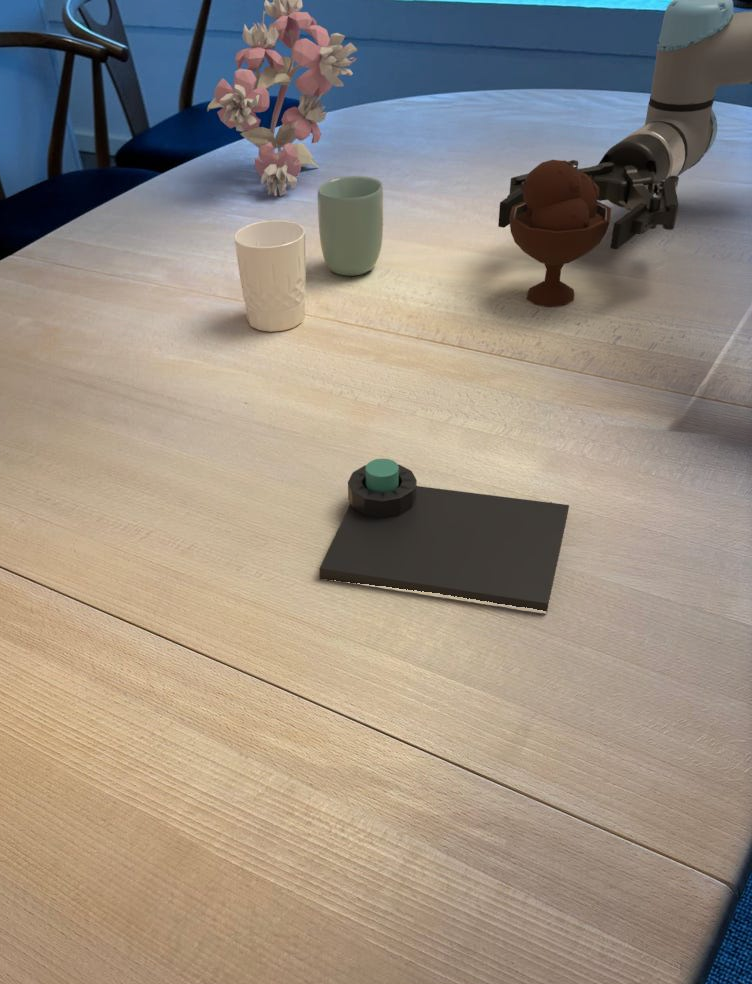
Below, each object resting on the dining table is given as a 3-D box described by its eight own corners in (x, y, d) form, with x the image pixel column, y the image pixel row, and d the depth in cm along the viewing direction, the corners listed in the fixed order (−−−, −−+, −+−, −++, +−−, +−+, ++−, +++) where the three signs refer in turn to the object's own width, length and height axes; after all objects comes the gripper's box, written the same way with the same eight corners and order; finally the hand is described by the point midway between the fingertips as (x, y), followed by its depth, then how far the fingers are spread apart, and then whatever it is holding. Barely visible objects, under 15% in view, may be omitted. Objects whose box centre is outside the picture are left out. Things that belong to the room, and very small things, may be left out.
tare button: (401, 477, 84) (402, 460, 83) (394, 495, 83) (394, 478, 81) (370, 473, 85) (370, 456, 84) (362, 491, 83) (361, 474, 82)
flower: (163, 174, 151) (182, 15, 129) (256, 117, 161) (288, -40, 139) (259, 251, 148) (296, 101, 126) (348, 188, 158) (396, 39, 136)
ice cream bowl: (580, 324, 108) (601, 181, 98) (486, 306, 113) (496, 169, 103) (613, 286, 114) (635, 148, 104) (522, 271, 119) (535, 138, 109)
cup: (312, 279, 122) (308, 196, 115) (332, 255, 127) (329, 174, 120) (372, 284, 120) (371, 200, 113) (390, 259, 125) (390, 177, 118)
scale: (568, 514, 83) (572, 484, 81) (546, 615, 74) (550, 585, 72) (359, 487, 88) (358, 459, 86) (315, 579, 80) (313, 550, 77)
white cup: (251, 304, 118) (243, 220, 112) (315, 305, 117) (310, 219, 110) (236, 334, 113) (226, 247, 106) (303, 335, 111) (298, 247, 104)
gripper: (735, 215, 115) (660, 281, 104) (543, 183, 128) (457, 239, 117) (752, 146, 110) (674, 209, 99) (549, 120, 123) (460, 173, 111)
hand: (556, 225), depth 108 cm, fingers open, 13 cm apart
